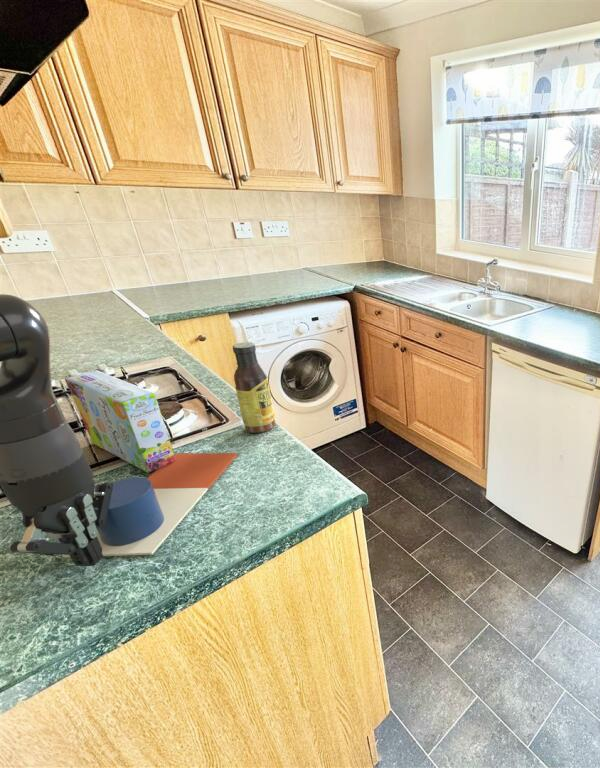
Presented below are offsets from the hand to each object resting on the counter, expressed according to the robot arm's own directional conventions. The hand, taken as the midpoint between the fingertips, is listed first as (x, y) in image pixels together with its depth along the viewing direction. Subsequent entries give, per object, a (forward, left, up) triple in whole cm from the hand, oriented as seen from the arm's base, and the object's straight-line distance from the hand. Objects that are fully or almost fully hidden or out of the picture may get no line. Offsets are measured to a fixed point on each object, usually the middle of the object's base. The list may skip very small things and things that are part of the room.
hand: (91, 562), depth 59 cm
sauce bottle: (+6, +40, -2) cm, 40 cm away
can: (0, +8, -1) cm, 8 cm away
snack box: (-14, +30, -2) cm, 33 cm away
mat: (0, +16, -2) cm, 16 cm away
